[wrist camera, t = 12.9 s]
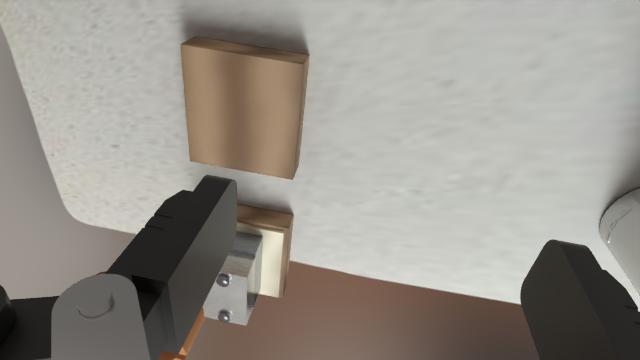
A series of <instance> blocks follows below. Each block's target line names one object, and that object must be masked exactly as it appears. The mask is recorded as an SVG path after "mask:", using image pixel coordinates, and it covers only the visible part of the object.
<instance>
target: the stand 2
mask: <svg viewBox="0 0 640 360" xmlns="http://www.w3.org/2000/svg"><path fill="white" fill-rule="evenodd" d="M293 217H294V215H292V214H287V213H281V212H276V211H271V210H265V209H260V208H255V207H250V206H244V205H239V204H237V230H236V231H240V232H246V233H251V234H256V235H261V236H263V248H262V269H261V289H260V291H259V294H263V295H269V296H274V297H278V298H283V295H284V292H285V288H286V285H287V277H288V267H289V257H290V247H291V237H292V227H293Z"/></svg>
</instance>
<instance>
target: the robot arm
mask: <svg viewBox="0 0 640 360" xmlns="http://www.w3.org/2000/svg"><path fill="white" fill-rule="evenodd" d="M236 230H237V184H236V181H235V180H232V179H227V178H221V177H216V176H210V175H206V176H204V178H203V179H202V180H201V182H200V183H199V184H198V186H197V187H196V188H195V190H194V191H193V192H191V191H186V190H182V191H180V192H179V193H177V194H175V195H174V196H172V197H170V198H168V199H167V200H165V202H164V203H163V204H162V205H161V206H160V208H159V209H158V210H157V211H156V212H155V214H154V217H153V216H152V217H151V218H150V220H149V221H148V222H147V223H146V225H145V228H142V229H141V231H140V232H139V233H138V234H137V235H136V237H135V238H134V239H133V240H132V242H131V243H130V244H129V245H128V246H127V248H126V249H125V250H124V251H123V253H122V254H121V255H120V256H119V257H118V259H117V260H116V261H115V262H114V263H113V265H112V266H111V267H110V268H109V269H108V271H107V272H106V273H105V274H100V275H95V276H92V277H88V278H85V279H83V280H80V281H79V282H77V283H75V284H73V285H72V286H70V287H69V288H68V289H66V290H65V291H64V292H63V293H62V294H61V295H60V296H54V297H41V298H29V299H13V300H10V299H9V298H8V295H7V293H6V291H5V290H4V288H3V287H2V286H1V285H0V360H158V359H159V357H160V355H161V354H162V352H163V351H164V352H169V353H174V354H178V355H179V352H180V350H181V348H182V346H183V344H184V342H185V340H186V338H187V336H188V334H189V332H190V330H191V328H192V326H193V324H194V322H195V320H196V318H197V316H198V314H199V312H200V310H201V308H202V306H203V304H204V302H205V300H206V298H207V296H208V294H209V292H210V290H211V288H212V286H213V284H214V282H215V280H216V278H217V276H218V274H219V272H220V270H221V268H222V266H223V264H224V262H225V260H226V258H227V256H228V254H229V252H230V250H231V248H232V246H233V243H234V240H235V236H236ZM600 235H601V237H602V239H603V241H604V243H605V244H606V246H607V247H608V249H609V250H610V252H611V253H612V255H613V256H614V258H615V259H616V261H617V262H618V263H619V265H620V267H621V268H622V270H623V271H624V273H625V274H626V276H627V277H628V279H629V280H630V282H631V283H632V285H633V286H634V288H635V289H636V291H637V292H638V294H639V295H640V188H639V189H636V190H634V191H632V192H629V193H627V194H626V195H624V196H622V197H621V198H619V199H618V200H617V201H616V202H614V203H613V204H612V205H611V206H610V207H609V208H608V210H607V211H606V212H605V213H604V215H603V217H602V219H601V223H600ZM520 298H521V305H522V308H523V311H524V314H525V317H526V320H527V323H528V326H529V329H530V332H531V335H532V337H533V340H534V343H535V346H536V349H537V352H538V355H539V358H540V360H640V312H638V307H637V305H636V304H635V302H634V301H633V299H632V298H631V296H630V295H629V293H628V291H627V290H626V288H624V287H623V286H622V285H621V284H620V283H619V282H618V281H617V280H616V279H615V278H614V277H613V276H612V275H611V274H609V273H608V272H607V271H606V270H602V269H601V267H600V265H599V264H598V262H597V260H596V259H595V257H594V255H593V254H592V252H591V251H590V249H589V248H588V247H587V246H585V245H580V244H574V243H569V242H563V241H558V240H550V241H548V242H547V243H546V244H545V245H544V247H543V249H542V250H541V252H540V254H539V256H538V257H537V259H536V261H535V262H534V264H533V266H532V267H531V269H530V271H529V273H528V274H527V276H526V278H525V279H524V281H523V284H522V287H521V297H520Z"/></svg>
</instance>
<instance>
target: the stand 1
mask: <svg viewBox="0 0 640 360" xmlns="http://www.w3.org/2000/svg"><path fill="white" fill-rule="evenodd" d="M181 57H182V69H183V81H184V93H185V106H186V118H187V130H188V142H189V155H190V161H193V162H198V163H204V164H209V165H214V166H220V167H225V168H231V169H236V170H242V171H247V172H253V173H258V174H264V175H269V176H275V177H280V178H286V179H291V180H293V178H294V176H295V173H296V170H297V168H298V165H299V156H300V146H301V136H302V125H303V115H304V105H305V95H306V85H307V75H308V65H309V55H306V54H300V53H294V52H288V51H282V50H275V49H269V48H263V47H257V46H251V45H244V44H238V43H232V42H226V41H220V40H213V39H207V38H201V37H193V38H191V39H189V40H188V41H186V42H184V43H182V44H181Z"/></svg>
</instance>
